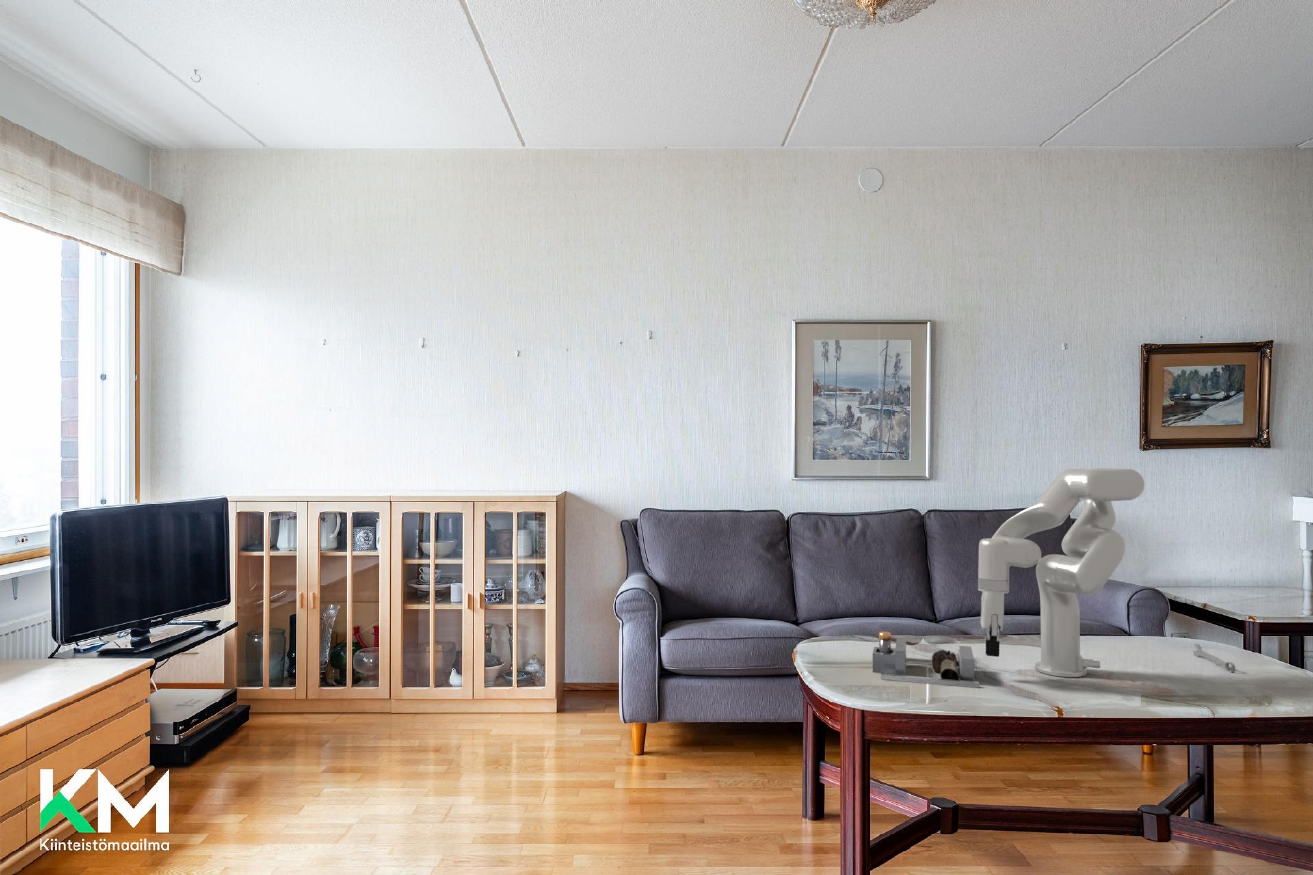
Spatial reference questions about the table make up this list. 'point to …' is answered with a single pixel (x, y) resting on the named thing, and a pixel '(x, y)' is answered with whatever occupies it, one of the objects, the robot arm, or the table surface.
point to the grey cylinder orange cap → (884, 642)
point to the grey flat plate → (927, 679)
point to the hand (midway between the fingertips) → (992, 655)
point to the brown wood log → (945, 665)
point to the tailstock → (891, 659)
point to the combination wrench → (1213, 659)
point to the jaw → (966, 663)
